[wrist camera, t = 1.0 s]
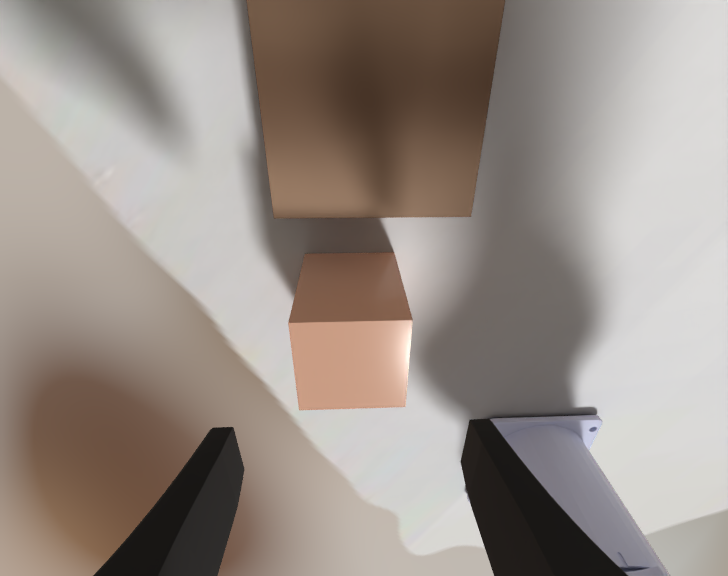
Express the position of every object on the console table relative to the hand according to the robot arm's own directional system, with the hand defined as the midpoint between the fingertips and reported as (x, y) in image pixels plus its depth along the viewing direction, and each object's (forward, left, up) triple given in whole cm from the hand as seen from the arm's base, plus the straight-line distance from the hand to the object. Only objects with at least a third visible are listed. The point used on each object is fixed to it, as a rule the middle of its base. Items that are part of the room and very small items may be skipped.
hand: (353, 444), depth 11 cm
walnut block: (+9, -1, -10) cm, 13 cm away
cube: (0, 0, -9) cm, 9 cm away
